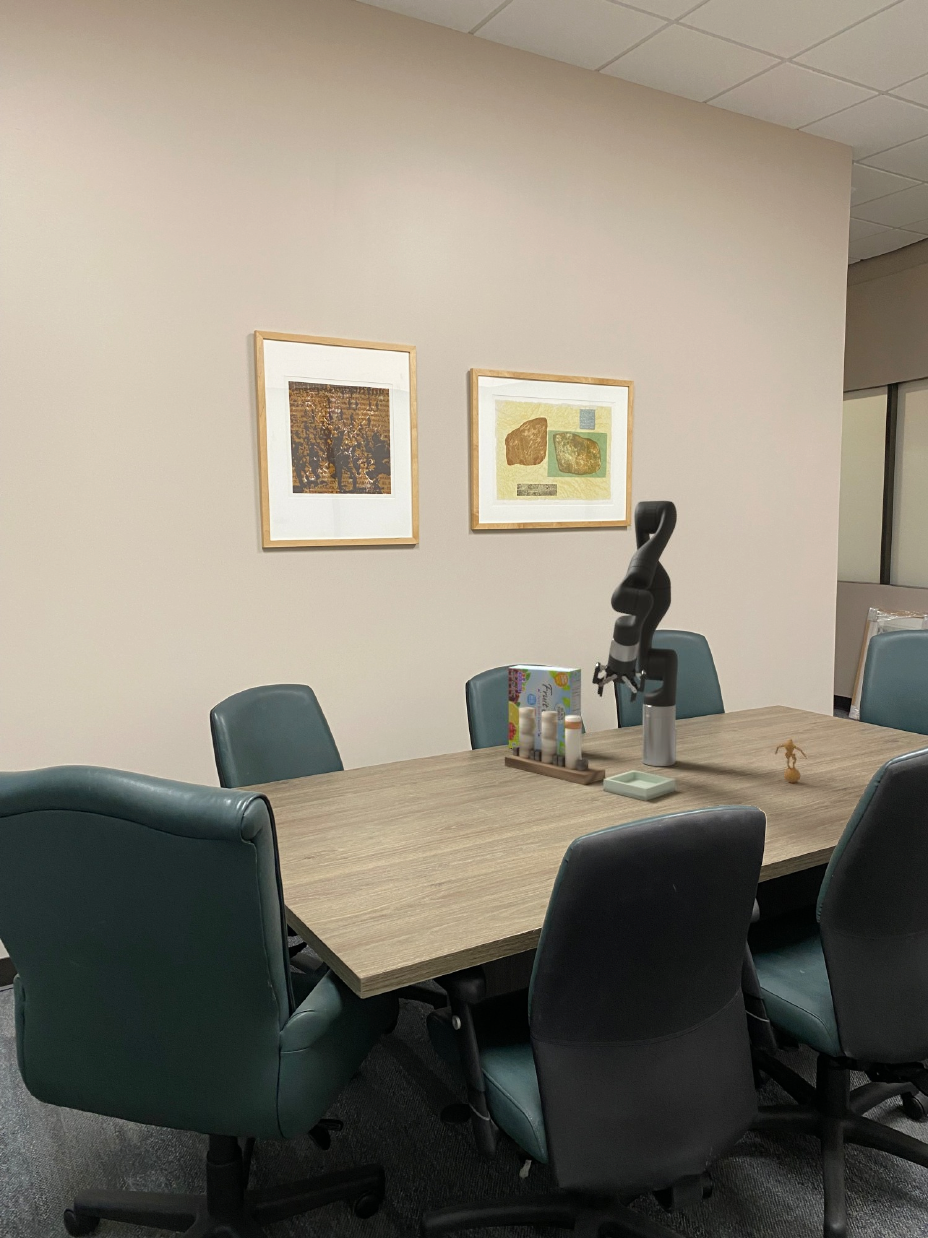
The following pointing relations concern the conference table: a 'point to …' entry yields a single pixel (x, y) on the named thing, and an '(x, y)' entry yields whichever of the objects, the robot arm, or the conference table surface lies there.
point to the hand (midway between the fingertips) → (616, 697)
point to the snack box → (543, 698)
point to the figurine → (792, 773)
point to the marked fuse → (572, 740)
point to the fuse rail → (557, 770)
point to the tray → (639, 785)
